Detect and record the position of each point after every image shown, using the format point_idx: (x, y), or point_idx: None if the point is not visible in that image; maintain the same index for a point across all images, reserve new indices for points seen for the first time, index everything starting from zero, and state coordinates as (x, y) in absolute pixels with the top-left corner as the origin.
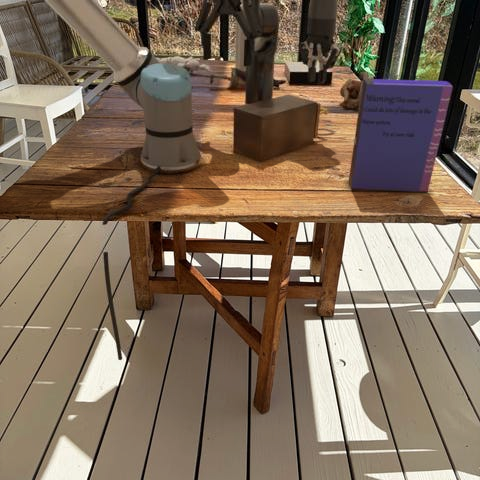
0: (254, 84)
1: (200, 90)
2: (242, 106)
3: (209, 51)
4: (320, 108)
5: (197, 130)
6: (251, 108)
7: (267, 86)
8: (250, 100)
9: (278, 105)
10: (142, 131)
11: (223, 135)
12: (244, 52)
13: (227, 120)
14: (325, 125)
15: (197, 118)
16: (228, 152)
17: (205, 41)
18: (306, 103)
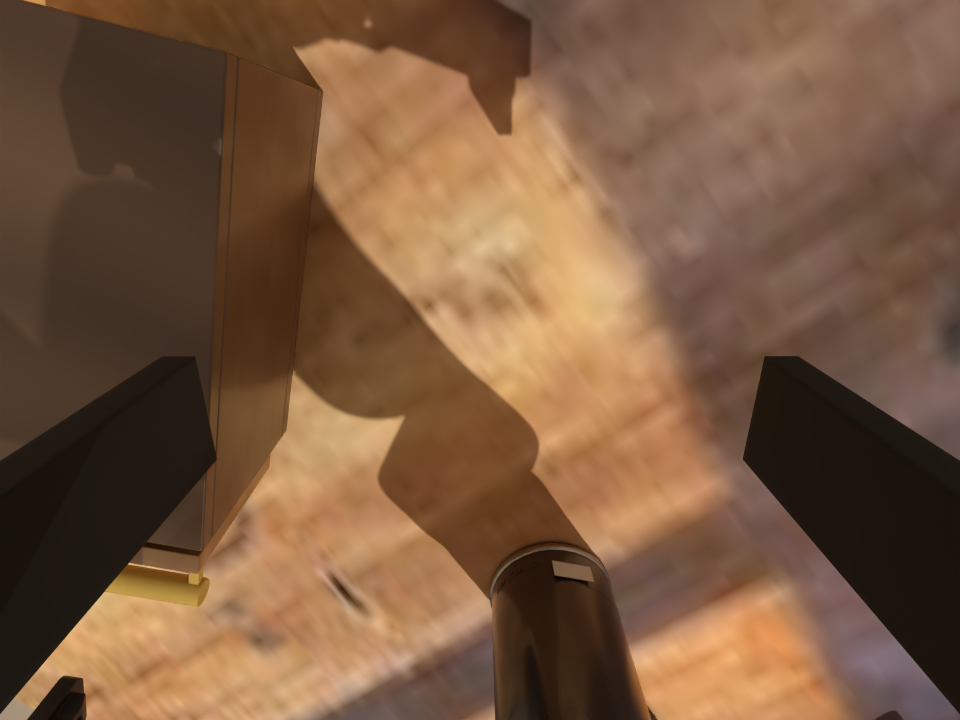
0: (559, 667)
1: (940, 695)
2: (203, 129)
3: (795, 479)
4: (116, 579)
5: (652, 240)
6: (118, 125)
7: (501, 690)
8: (568, 594)
9: (54, 311)
10: (916, 35)
11: (501, 256)
12: (79, 430)
13: (608, 440)
14: (238, 601)
15: (750, 385)
16: (328, 57)
17: (932, 488)
18: None
